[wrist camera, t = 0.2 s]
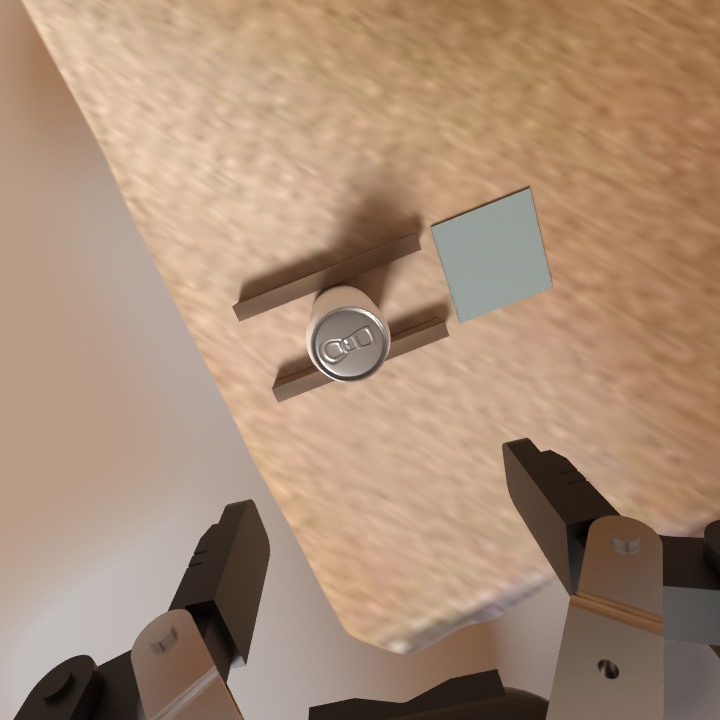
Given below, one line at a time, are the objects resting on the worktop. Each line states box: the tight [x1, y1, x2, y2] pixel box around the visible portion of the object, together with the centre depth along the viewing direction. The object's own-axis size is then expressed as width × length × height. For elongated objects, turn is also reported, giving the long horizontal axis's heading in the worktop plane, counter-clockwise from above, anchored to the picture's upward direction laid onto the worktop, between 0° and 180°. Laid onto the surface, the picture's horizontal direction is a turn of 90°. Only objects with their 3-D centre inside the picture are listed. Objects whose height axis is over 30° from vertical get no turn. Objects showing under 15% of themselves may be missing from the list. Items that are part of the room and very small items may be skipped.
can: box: [306, 285, 391, 382], centre depth 34 cm, size 6×6×12 cm
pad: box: [430, 188, 553, 323], centre depth 39 cm, size 10×10×1 cm
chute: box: [232, 233, 449, 403], centre depth 39 cm, size 10×18×2 cm, turn 111°
